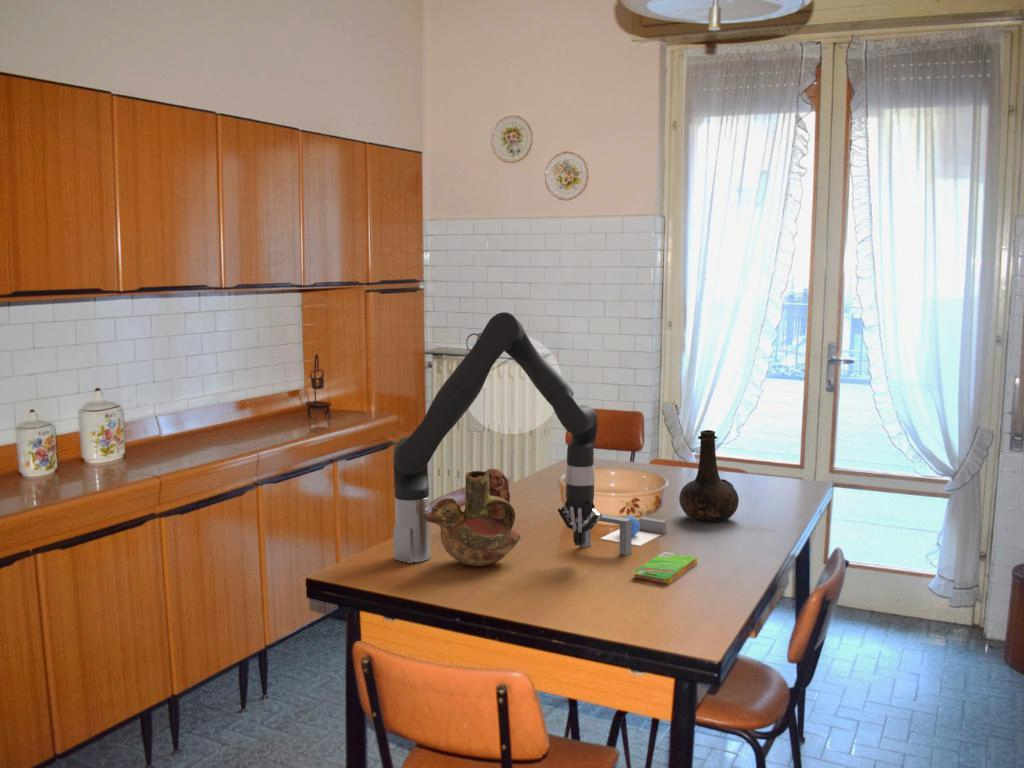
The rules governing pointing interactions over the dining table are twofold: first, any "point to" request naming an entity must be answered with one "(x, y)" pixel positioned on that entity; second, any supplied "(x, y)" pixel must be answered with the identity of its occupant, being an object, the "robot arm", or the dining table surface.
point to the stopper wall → (652, 525)
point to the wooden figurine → (498, 491)
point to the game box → (665, 567)
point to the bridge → (624, 532)
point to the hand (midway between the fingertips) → (579, 544)
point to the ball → (633, 525)
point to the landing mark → (632, 537)
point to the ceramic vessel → (475, 524)
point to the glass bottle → (708, 488)
